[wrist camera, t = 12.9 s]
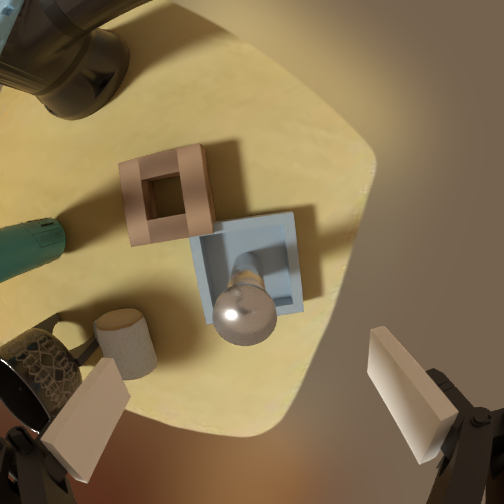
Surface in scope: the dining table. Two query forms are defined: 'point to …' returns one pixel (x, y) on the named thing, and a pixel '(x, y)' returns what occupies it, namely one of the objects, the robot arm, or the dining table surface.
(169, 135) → the dining table surface
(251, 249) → the tray
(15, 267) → the beverage bottle
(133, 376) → the ceramic mug
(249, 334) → the pin
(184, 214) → the block
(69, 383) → the planter
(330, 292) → the dining table surface
